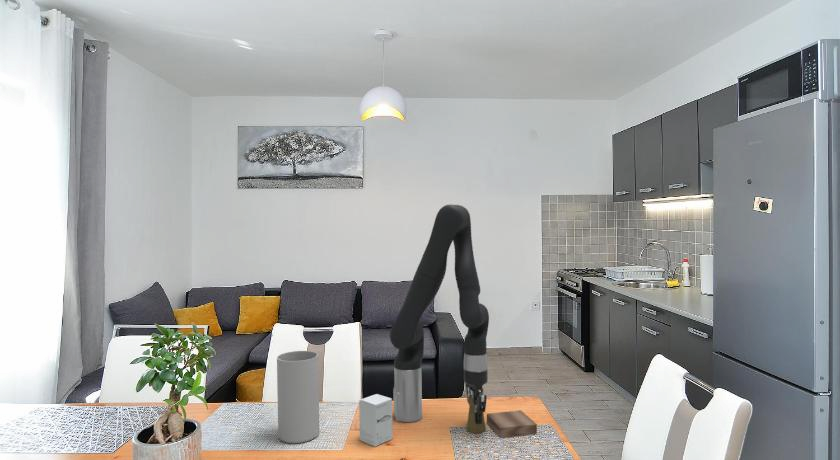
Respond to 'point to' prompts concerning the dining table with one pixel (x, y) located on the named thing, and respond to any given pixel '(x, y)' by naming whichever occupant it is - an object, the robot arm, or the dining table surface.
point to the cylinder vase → (298, 396)
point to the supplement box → (375, 419)
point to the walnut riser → (511, 424)
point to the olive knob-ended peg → (471, 419)
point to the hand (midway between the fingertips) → (476, 420)
